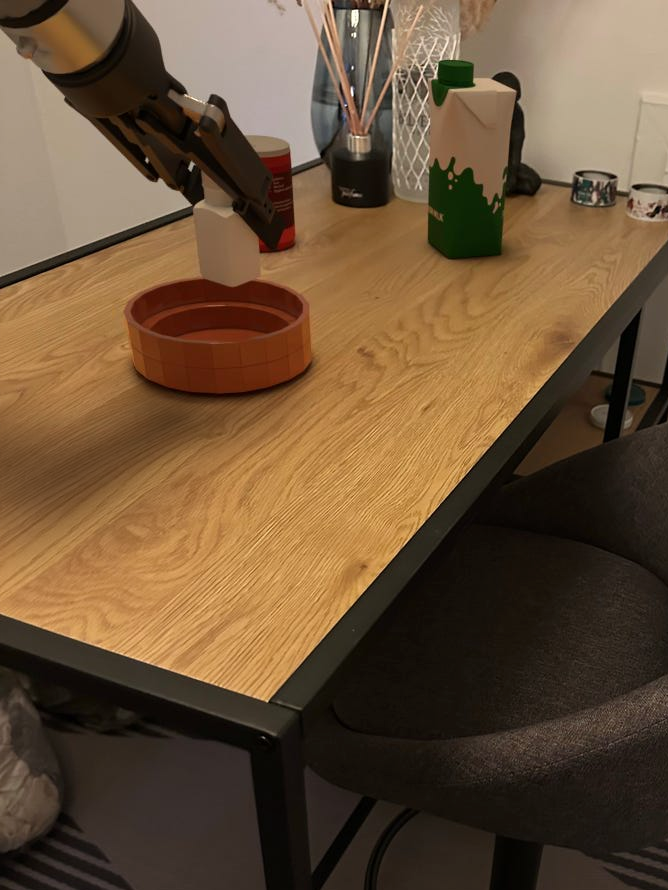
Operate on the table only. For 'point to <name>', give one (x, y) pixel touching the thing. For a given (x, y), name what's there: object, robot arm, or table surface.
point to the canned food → (278, 183)
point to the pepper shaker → (224, 239)
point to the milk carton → (467, 160)
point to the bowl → (219, 335)
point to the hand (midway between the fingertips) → (254, 229)
